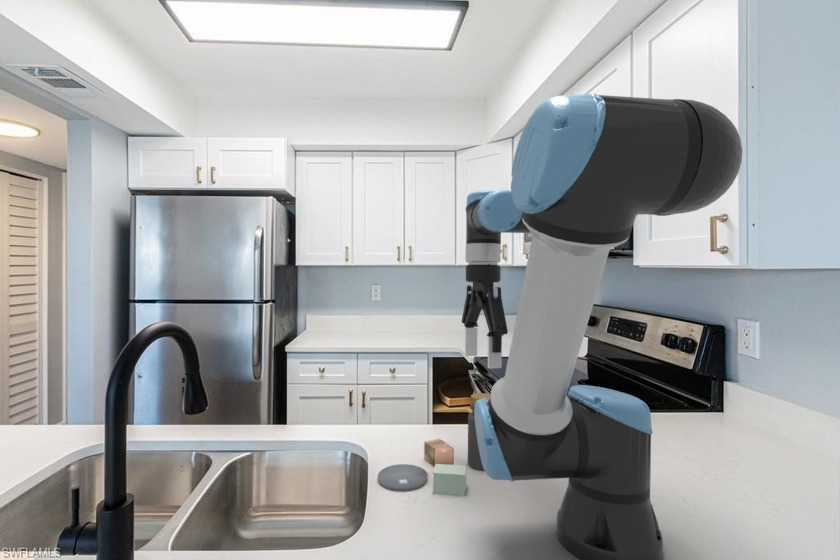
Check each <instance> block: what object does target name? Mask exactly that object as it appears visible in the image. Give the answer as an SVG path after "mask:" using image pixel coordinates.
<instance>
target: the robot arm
mask: <svg viewBox="0 0 840 560" xmlns="http://www.w3.org/2000/svg"><path fill="white" fill-rule="evenodd" d="M741 140H742V139H741V136H740V135H739V131H738V129H737V127H736V125H734V123H733V122H732V120H731V119H729V118H728V116H727V115H726V114H724V113H723V112H721V111H720V110H719V109H718V108H716V107H714V106H712V105H710V104H708V103H704V102H702V101H698V100H693V99H681V98H680V99H679V98H673V99H667V98H652V97H636V96H635V97H633V96H622V95H620V96H619V95H605V94H604V95H602V94H596V93H593V94H591V93H584V94H570V95H568V94H567V95H565V94H563V95H556V96H552V97H550V98H547V99H546V100H545V101H543V102H542V103H541V104H540V105H538V106H537V107H536V108H535V110H534V111H533V113H532V115H530V116H529V118H528V120H527V122H526V123H525V125H524V128H523V129H522V132H521V135H520V137H519V140H518V143H517V146H516V150H515V152H514V158H513V162H512V167H511V177H512V180H511V184H510V189H511V190H508V189H497V190H476V191H472V192H470V193H468V195H467V197H466V206H465V213H466V214H465V217H466V220H465V221H466V223H465V225H466V226H465V227H466V231H465V233H466V235H465V236H466V238H465V240H466V242H465V243H466V244H465V262H466V263H467V265H466V266H465V281H466V282H468V283H472V285H471V284H469V285H467V286H466V295H465V301H464V305H463V310H462V311H463V312H462V317H461V323H462V324H463V326H464V329H465V330H464V331H465V334H464V336H465V337H464V342H465V343H464V356H466V357H472V356H473V357H475V356H476V357H477V356H478V328H479V324H478V320H479V318H480V314H481V312H482V311H483V314H484V318H485V321H486V325H487V328H488V332H487V335H486V336H487V369H488V370H489V369H502V365H503V363H502V362H503V361H502V360H503V359H502V356H503V355H502V354H503V353H502V352H503V351H502V350H503V345H502V344H503V337H504V335H507V334H508V332H509V331H508V326H507V321H506V320H507V319H506V316H505V309H504V304H503V299H502V288H501V286H494V284H495V283H500V282H501V274H502V272H501V271H502V270H501V266H500V265H498V263H500V262H501V254H502V253H503V250H502V248H501V247H502V246H501V244H502V233H504V234H506V233H508V234H513V233H514V234H531V235H532V237H531V241H530V246H529V252H528V258H527V262H526V266H525V272H524V277H523V282H522V288H521V292H520V296H519V297H520V298H519V301H518V307H517V312H516V318H515V323H514V327H513V333H512V337H511V343H510V348H509V353H508V358H507V362H506V363H507V364H506V368H505V374H504V376H503V377H501V378H499V379H498V380H497V381H496V382H495V383H494V384H493V386H492V388H491V391H490V399H487V398H483V399H479V400H477V401H476V402H475V408H474V414H475V427H476V435H477V442H478V447H479V453H480V457H481V462H482V465H483V468H484V470H483V471H484V472H485V474H486V475H487V477H488V478H490V479H492V480H496V481H509V482H515V481H527V480H528V481H530V480H551V479H552V480H554V479H555V480H556V479H568V483H567V486H566V490H565V492H564V496H563V498H562V500H561V501H562V502H561V505H560V508H559V509H558V511H557V513H556V525H555V526H556V535H557V539H558V540H559V541H560V543H561V545H562V546H563V547H564V548H565V549H566V550H567V551H569V552H570V553H571V554H572V555H574V556H575V557H576V558H578V559H580V560H663V558H664V539H663V535H662V533H661V532H662V531H661V530H660V526H659V522H658V520H657V517H656V514H655V509H654V507H653V504H652V502H651V470H652V469H651V467H652V465H651V464H652V463H651V462H652V461H651V460H652V456H651V455H652V435H653V433H654V431H653V429H652V418H651V417H652V416H651V410H650V407H649V406H648V405H647V403H646V402H645V401H643V400H642V399H640V398H638V397H637V396H634V395H631V394H628V393H626V392H621V391H618V390H614V389H610V388H606V387H601V386H594V385H585V384H576V385H573V386H571V387H570V384H571V381H572V377H573V373H574V370H575V367H576V363H577V362H578V357H579V354H580V350H581V347H582V344H583V340H584V337H585V334H586V330H587V327H588V323H589V320H590V317H591V314H592V311H593V306H594V303H595V299H596V297H597V294H598V290H599V288H600V287H599V286H600V283H601V280H602V276H603V274H604V270H605V268H606V267H605V266H606V263H607V261H608V260H607V259H608V256H609V254H610V251H611V250H612V249H613V248H616V247H618V246H620V245H622V244H625V243H626V242H627V241H628V240H629V238H630V236H631V232H632V230H633V226H634V223H635V220H636V217H637V216H638V215H652V216H657V217H665V216H671V215H672V216H673V215H678V214H686V213H691V212H695V211H698V210H701V209H703V208H706V207H708V206H710V205H711V204H713V203H714V202H716V201H718V200H719V199H720V198H721V197H722V196H723V195H725V194H726V193H727V191H728V190H729V189H730V188H731V186H732V185H733V184H734V182H735V181H736V178H737V176H738V175H739V171H740V170H741V169H740V168H741V166H742V162H743V146H742V141H741ZM569 387H570V388H569ZM568 390H569V391H568ZM567 394H568V396H569V397H568V396H567Z"/></svg>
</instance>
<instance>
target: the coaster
mask: <svg viewBox="0 0 840 560" xmlns="http://www.w3.org/2000/svg"><path fill="white" fill-rule="evenodd" d="M428 478H429V475H428V472H427V471H426V470H425V469H424V468H422V467H420V466H417V465H414V464H405V463H402V464H401V463H400V464H393V465H392V464H391V465H389V466H385V467H384V468H383V469H381V470H380V471H379V472H378V474H377V482H378V484H379V485H380V487H383V488H385V489H386V490H389V491H394V492H410V491H415V490H419V489H421V488H422V487H423V488H424V486H425V485H426V484H427V483H428V480H429V479H428Z"/></svg>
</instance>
